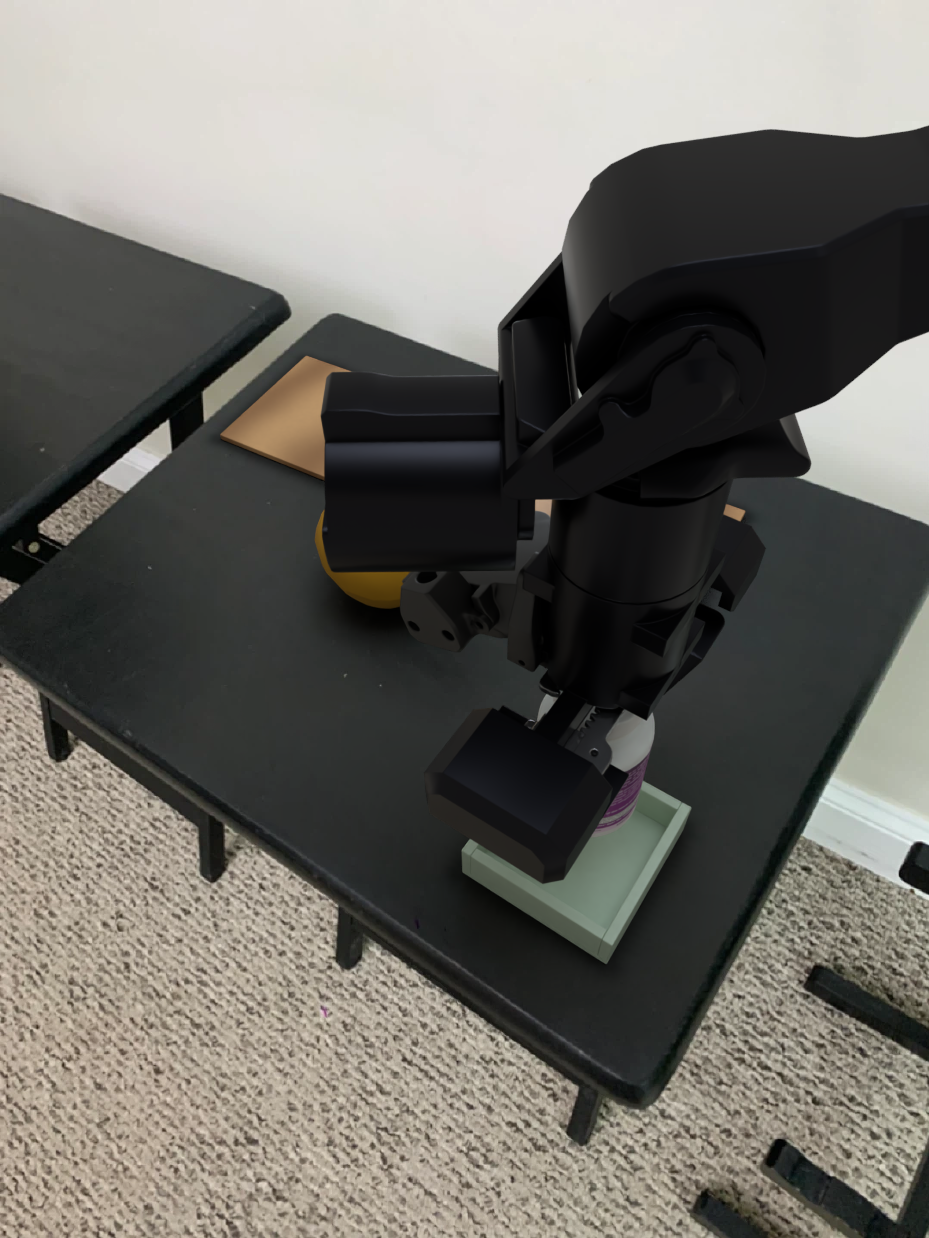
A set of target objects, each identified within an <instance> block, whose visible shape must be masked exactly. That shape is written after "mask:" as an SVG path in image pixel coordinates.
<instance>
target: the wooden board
mask: <svg viewBox="0 0 929 1238" xmlns="http://www.w3.org/2000/svg"><path fill="white" fill-rule="evenodd" d="M331 372H352V371H351V370H348V369H345V368H342V367H339V366H337V365H334V364H332V363H328V362H326V361H323V360H320V359H317V358H315V357H312V356H308V355H305V356H304V357H303V358H301V359H300V360H299V362H298V363H296V364H295V365H294V366H293V367H292V368H291V369H290V370H289V371H288V372H286V373H285V374H284V375H283V376H282V377H281V378H280V379H279V380H277V381H276V383H274V385H272V386H271V387H270V388H269V389H268V390H267V391H266V392H265V393H263V394H262V396H260V397H259V398H258V399H257V400H256V401H255V402H254V403H253V404H252V405H251V406H249V408H247V409H246V410H245V411H244V412H243V413H242V414H240V416H239V417H237V418H236V419H235V420H234V421H233V422H232V423H231V424H230V425H229V426H228V427H226V428H225V429H224V430H222V432H221V433H220V434H219V438H220V439H221V440H222V441H225V442H227V443H229V444H232V445H235V446H237V447H240V448H242V449H245V450H247V451H249V452H252V453H255V454H257V455H259V456H262V457H265V458H267V459H269V460H272V461H275V462H277V463H278V464H282V465H284V466H287V467H289V468H292V469H293V470H297V471H299V472H302V473H304V474H306V475H309V476H311V477H314V478H317V479H319V480H322V481H324V449H325V440H324V434H323V428H322V422H321V417H320V416H321V409H322V403H323V396H324V390H325V383H326V378H327V376H328V375H329V374H330V373H331ZM551 504H552V500H535V511H541V512H544V513H546V514H548V515H549V516H551ZM724 515H726V516H729V517H731V518H734V519H736V520H738V521H741V522H743V519H744V517H745V515H746V510H745V509H742V508H738V507H736V506H733V505H730V504H727V503H726V507H725V510H724ZM700 595H701V594H700ZM698 602H699V601H698Z"/></svg>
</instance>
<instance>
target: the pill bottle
mask: <svg viewBox="0 0 929 1238" xmlns="http://www.w3.org/2000/svg"><path fill="white" fill-rule="evenodd" d="M559 691H560V690H559ZM560 692H561V693H562V692H563V691H560ZM560 695H561V694H560ZM557 699H558V698H556V697H551V696H549V695H548V694H546V693H545V696H544V697H543V699H542V701H541V702H540V706H539V709H538V714H537V717H536V718H537V719H536V722H537V721H539V720H540V719H541V717H542V716H543V715H544V713H547V712H548V711H549V710H550V708H551V707H552V706H553V704H554V703H555V701H556V700H557ZM594 710H595V706H594V707H593V708H592V710H591V711H590V713H589V714H588V716H587V717H586V719H585V720H584V721H583V723H582V724H581V726H580V727H579V729H578V731H580V728H581V727H584V728H586V727H585V721H586V720H590V719H589V718H590V714H591V713H595V712H594ZM595 714H596V713H595ZM590 721H591V720H590ZM655 724H656V723H655V717H654V713H653V712H652V713H651V715H650V716H649V718H648V720H647V721H646V720H644V719H642V718H640V717H638V716H636V715H634V714H632V713H631V712H629V711H627V710H625V712H624V713H623V715H622V716H621V718H620V719H619V721H618V722H617V724H616V725H615V727H614V728H613V730H612V731H611V733H610V734H609V736H608V737H607V739H606V741H607V743H608V744H609V745H610V747H611V749H612V752H613V757H612V762H611V764H612V765H613V766H615V767H617V768H619V769H621V770H622V771H624V772H626V773H628V774H629V777H628V779H627V780H626V782H625V784H624V785H623V787H622V788H621V790H620V791H619V793H618V795H617V796H616V798H615V799H614V801H613V802H612V804H611V806H610V807H609V809H608V810H607V812H606V814H605V815H604V817H603V818H602V820H601V821H600V822H599V824H598V826H597V828H596V830H595V831H594V833H593V834H592V836H591V837H590V838H593V837H599V836H603V835H607V834H610V833H612V832H614V831H617V830H618V829H619V828H620V827H622V826H623V825H624V824H625V823H626V822H627V820H628V819H629V818H630V817H631V815H632V813H633V811H634V809H635V807H636V804H637V801H638V797H639V794H640V790H641V786H642V782H643V781H644V779H645V778H644V777H645V775H646V771H647V767H648V762H649V760H650V756H651V755H650V754H651V752H652V748H653V745H654V740H655V734H656V733H655V732H656V729H655V728H656V727H655V726H656V725H655Z"/></svg>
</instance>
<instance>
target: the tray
mask: <svg viewBox="0 0 929 1238" xmlns="http://www.w3.org/2000/svg"><path fill="white" fill-rule="evenodd" d="M691 811H692V807H691V806H690V805H688V804H686V803H685V802H682V801H680V800H679V799H677V798H675V797H673V796H671V795H670V794H668V793H667V792H664V791H663V790H660V789H659V788H657V787H655V786H653V785H652V784H650V783H648V782H646V781H645V780H643V782H642V786H641V790H640V794H639V797H638V801H637V804H636V807H635V809H634V811H633V813H632V815H631V817H630V818H629V819H628V820H627V822H626V823H625V824H624V825H623V826H622V827H620V828H619V829H618V830H617V831H614V832H612V833H610V834H607V835H603V836H599V837H593V838H590V839H589V841H588V842H587V844H586V845H585V847H584V848H583V850H582V852H581V853H580V855H579V856H578V858H577V860H576V861H575V863H574V864H573V866H572V867H571V869H570V871H569V872H568V874H567V875H566V877H565V878H564V880H561V881H555V882H550V883H545V884H542V883H540V882H539V881H537V880H535V879H534V878H532V877H531V876H529V875H527V874H526V873H524V872H522V871H521V870H519V869H518V868H516V867H514V866H513V865H511V864H510V863H508V862H506V861H505V860H503V859H502V858H500V857H498V856H497V855H495V854H494V853H492V852H490V851H489V850H487V849H485V848H484V847H482V846H481V845H479V844H477V843H476V842H474V841H473V840H471V839H469V838H468V841H467V842H466V844H465V845H464V846H463V847H462V849H461V866H462V867H461V868H462V870H461V871H462V873H463V874H464V875H466V876H467V877H469V878H471V879H472V880H474V881H475V882H477V883H478V884H480V885H482V886H483V887H484V888H486V889H488V890H490V891H491V892H492V893H494V894H495V895H497V896H499V897H500V898H501V899H503V900H505V901H506V902H508V903H510V904H511V905H513V906H514V907H516V908H517V909H519V910H521V911H522V912H523V913H525V914H527V915H528V916H529V917H531V918H533V919H534V920H536V921H538V922H539V923H541V924H542V925H544V926H546V927H547V928H549V929H550V930H551V931H553V932H555V933H556V934H558V935H559V936H561V937H562V938H564V939H565V940H568V941H569V942H570V943H572V944H573V945H575V946H576V947H578V948H579V949H581V950H582V951H584V952H586V953H587V954H589V955H590V956H592V957H594V958H595V959H597V960H599V961H600V962H601V963H603V964H605V965H607V964H608V963H609V961H610V960H611V958H612V956H613V955H614V952H615V950H616V949H617V946H618V945H619V943H620V941H621V940H622V938H623V936H624V935H625V933H626V931H627V929H628V928H629V926H630V924H631V922H632V920H633V919H634V917H635V915H636V914H637V912H638V910H639V908H640V906H641V905H642V903H643V901H644V899H645V898H646V896H647V894H648V893H649V891H650V889H651V887H652V886H653V884H654V883H655V880H656V879H657V877H658V876H659V873H660V872H661V870H662V868H663V867H664V864H665V863H666V861H667V859H668V858H669V856H670V854H671V852H672V851H673V849H674V848H675V845H676V844H677V842H678V841H679V838H681V835H682V834H683V831H684V829H685V827H686V824H687V821H688V818H689V816H690V814H691Z"/></svg>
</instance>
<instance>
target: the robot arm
mask: <svg viewBox="0 0 929 1238" xmlns="http://www.w3.org/2000/svg"><path fill="white" fill-rule="evenodd" d="M496 330H497V353H498V354H497V357H498V359H497V361H498V362H497V363H498V365H497V374H489V375H487V374H484V375H481V374H479V375H411V376H408V375H404V376H401V375H400V376H399V375H390V374H389V375H388V374H383V373H379V372H378V373H377V372H373V371H351V372H331V373H330V374H329V375H328V376H327V378H326V383H325V390H324V396H323V403H322V409H321V416H320V417H321V422H322V428H323V434H324V440H325V449H324V480H323V482H324V502H325V503H324V509H325V510H324V509H323V511H324V517H323V524H322V540H323V546H324V551H325V555H326V559H327V563H328V565H329V567H330V569H331V571H332V572H334V573H344V572H410V573H409V574H408V575H407V576H406V577H405V578H404V579H403V580H402V583H403V585H402V586H401V594H400V607H399V611H400V616H401V618H402V620H403V622H404V625H405V626H406V629H407V631H408V633H409V634H410V635H411V636H412V638H414V639H415V640H416V641H417V642H419V643H421V644H424V645H427V646H431V647H435V648H439V649H442V650H445V651H448V652H453V653H461V652H462V651H464V649H465V648H466V647H467V645H468V644H469V643H470V642H471V641H472V640H473V639H474V637H476V636H478V635H485V636H487V637H488V636H489V637H492V638H496V639H507V649H506V650H507V652H506V659H507V660H508V661H510V662H512V663H513V664H516V665H517V666H519V667H521V668H523V669H524V670H527V671H528V672H531V673H534V672H536V670H537V669H538V668H539V667H540V666H541V667H542V668H544V669H546V671H545V672H544V674H543V675H542V677H540V679H539V681H538V688H539V691H541V692H542V693H543V694H545V695H546V694H548V695H549V696H551V697H556V698H558V699H557V700H556V701H555V703H554V704H553V706H552V707H551V708H550V710H549V711H548V712H547V713H544V715H543V716H542V717H541V719H540V720H539V721H537V720H533V719H530V718H528V717H526V716H524V715H523V714H521V713H519V712H517V711H516V710H513V709H512V708H510V707H508V706H506V705H504V704H502V705H501V706H500V707H499V709H496V708H494V707H487V708H486V707H484V708H475V709H472V710H471V712H470V713H469V714H468V715H467V716H466V718H465V719H464V721H463V722H462V723H461V724H460V725H459V727H458V728H457V729H456V730H455V732H454V733H453V734H452V735H451V737H450V738H449V739H448V741H447V742H446V743H445V745H444V746H443V747H442V748H441V750H440V751H439V752H438V754H436V756H435V757H434V759H432V762H431V763H430V764H429V765H428V766H427V767H426V769H425V770H424V771H423V779H424V781H423V782H424V789H425V790H424V791H425V798H426V802H427V808H428V814H429V815H431V816H432V817H434V818H435V819H437V820H439V821H440V822H442V823H444V824H446V825H447V826H449V827H450V828H452V829H453V830H455V831H457V832H458V833H460V834H462V835H463V836H464V837H466V838H468V840H469V839H471V840H473V841H474V842H476V843H477V844H479V845H481V846H482V847H484V848H485V849H487V850H489V851H490V852H492V853H494V854H495V855H497V856H498V857H500V858H502V859H503V860H505V861H506V862H508V863H510V864H511V865H513V866H514V867H516V868H518V869H519V870H521V871H522V872H524V873H526V874H527V875H529V876H531V877H532V878H534V879H535V880H537V881H539V882H540V883H542V884H545V883H550V882H555V881H561V880H564V878H565V877H566V875H567V874H568V872H569V871H570V869H571V867H572V866H573V864H574V863H575V861H576V860H577V858H578V856H579V855H580V853H581V852H582V850H583V848H584V847H585V845H586V844H587V842H588V841H589V839H590V837H591V836H592V834H593V833H594V831H595V830H596V828H597V826H598V824H599V822H600V821H601V820H602V818H603V817H604V815H605V814H606V812H607V810H608V809H609V807H610V806H611V804H612V802H613V801H614V799H615V798H616V796H617V795H618V793H619V791H620V790H621V788H622V787H623V785H624V784H625V782H626V780H627V779H628V777H629V774H628V773H626V772H624V771H622V770H621V769H619V768H617V767H615V766H613V765H612V764H611V762H612V757H613V752H612V749H611V747H610V745H609V744H608V743H607V741H606V739H607V737H608V736H609V734H610V733H611V731H612V730H613V728H614V727H615V725H616V724H617V722H618V721H619V719H620V718H621V716H622V715H623V713H624V712H625V710H627V711H629V712H631V713H632V714H634V715H636V716H638V717H640V718H642V719H644V720H646V721H647V720H648V718H649V716H650V715H651V713H653V712H654V710H655V709H656V707H657V706H658V704H659V702H661V700H662V698H663V697H664V696H665V695H667V693H668V692H669V691H670V690H671V689H673V688H674V687H675V686H676V685H677V684H678V683H679V682H681V681H682V680H683V679H684V678H685V677H687V675H689V673H691V672H692V671H693V670H694V669H695V668H697V667H698V665H700V664H701V663H702V662H703V660H704V659H705V658H706V656H707V654H708V653H709V651H710V649H711V648H712V646H713V645H714V643H715V642H716V640H717V638H718V636H720V634H721V633H722V631H723V629H724V627H725V625H726V619H725V616H724V615H723V613H722V612H720V610H719V611H718V609H715V608H713V607H711V606H708V605H706V604H704V603H702V602H701V601H703V599H704V597H705V595H706V594H707V593H708V591H709V589H710V588H711V589H713V590H715V591H718V592H720V593H721V595H720V598H719V601H718V604H717V607H718V608H721V609H722V610H725V611H727V612H730V613H732V612H735V610H736V608H737V607H738V606H739V604H740V602H741V601H742V599H743V598H744V596H745V595H746V593H747V591H748V590H749V589H750V587H751V585H752V583H753V582H754V580H755V579H756V577H757V575H758V573H759V570H760V567H761V564H762V561H763V559H764V556H765V553H766V550H767V547H766V546H765V545H764V543H763V541H762V539H761V538H760V537H759V535H758V534H757V532H756V530H755V529H754V527H753V526H752V525H750V524H748V523H745V522H743V521H738V520H736V519H734V518H731V517H729V516H726V515H724V510H725V507H726V504H727V503H728V499H729V496H730V493H731V489H732V485H733V481H734V480H736V479H757V478H758V479H762V478H763V479H764V478H766V479H767V478H768V479H769V478H774V479H775V478H777V479H778V478H800V477H803V476H805V475H806V474H808V473H809V471H810V470H811V468H812V460H811V457H810V453H809V451H808V448H807V444H806V442H805V439H804V436H803V433H802V430H801V427H800V425H799V422H798V418H797V415H796V414H798V413H800V412H803V411H806V410H809V409H811V408H814V407H816V406H819V405H823V404H824V403H826V402H828V401H830V400H832V399H833V398H834V397H836V396H837V395H838V394H839V393H840V392H842V391H843V390H844V389H846V388H847V387H848V386H849V385H850V384H851V383H853V382H854V381H855V380H856V379H858V378H859V377H860V376H861V375H863V373H865V372H866V371H867V370H868V369H869V368H870V367H872V366H874V364H876V363H877V362H878V361H879V360H880V359H881V358H883V357H884V356H885V355H886V354H887V353H889V352H890V351H891V350H893V348H895V347H896V346H898V345H899V344H901V343H904V342H907V341H910V340H912V339H915V338H917V337H920V336H923V335H925V334H928V333H929V124H927V125H925V126H922V127H919V128H915V129H910V130H905V131H898V132H891V133H883V134H877V135H869V136H846V135H838V134H829V133H828V134H827V133H819V132H818V133H817V132H806V131H797V130H785V129H775V128H768V129H767V128H766V129H760V130H759V129H758V130H752V131H744V132H739V133H738V132H737V133H732V134H724V135H718V136H710V137H703V138H696V139H688V140H683V141H674V142H668V143H662V144H657V145H653V146H649V147H644V148H641V149H639V150H637V151H635V152H633V153H631V154H629V155H627V156H624V157H623V158H621V159H618V160H616V161H614V162H612V163H610V164H609V165H608V166H607V167H605V168H604V169H603V170H602V171H600V172H599V173H598V174H597V175H596V176H595V177H593V178H592V180H591V181H590V183H589V187H588V190H587V191H586V192H585V194H584V195H583V196H582V198H581V200H580V202H579V203H578V205H577V207H576V208H575V210H574V211H573V213H572V215H571V217H570V218H569V220H568V223H567V227H566V231H565V235H564V239H563V243H562V248H561V251H560V252H559V253H558V254H557V256H556V257H555V258H554V259H553V260H552V261H551V263H550V264H549V265H548V266H547V267H546V268H545V269H544V270H543V272H542V273H541V274H540V276H539V277H538V278H537V279H536V280H535V281H534V282H533V283H532V285H531V286H530V287H529V288H528V289H527V290H526V292H525V293H524V294H523V295H521V297H520V299H519V300H518V301H517V302H516V303H515V304H514V306H513V307H512V308H510V310H509V311H508V312H507V313H506V314H505V316H504V317H503V318H502V319H501V320H500V322H498V324H497V329H496ZM580 395H581V396H580ZM535 500H552V504H551V516H549V515H548V514H546V513H544V512H541V511H535ZM700 594H701V595H700ZM698 601H699V602H698ZM559 690H560V691H563V692H562V693H561V692H560V691H559ZM560 694H561V695H560ZM594 706H595V710H594V712H595V713H596V714H595V713H591V714H590V718H589V719H590V720H591V721H590V720H586V721H585V727H586V728H584V727H581V728H580V731H578V729H579V727H580V726H581V724H582V723H583V721H584V720H585V719H586V717H587V716H588V714H589V713H590V711H591V710H592V708H593V707H594Z"/></svg>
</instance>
